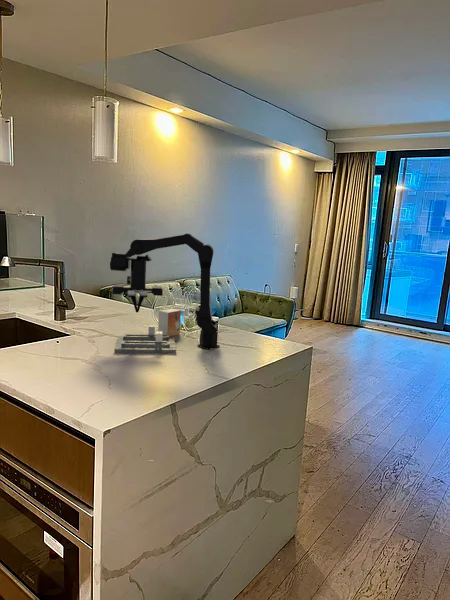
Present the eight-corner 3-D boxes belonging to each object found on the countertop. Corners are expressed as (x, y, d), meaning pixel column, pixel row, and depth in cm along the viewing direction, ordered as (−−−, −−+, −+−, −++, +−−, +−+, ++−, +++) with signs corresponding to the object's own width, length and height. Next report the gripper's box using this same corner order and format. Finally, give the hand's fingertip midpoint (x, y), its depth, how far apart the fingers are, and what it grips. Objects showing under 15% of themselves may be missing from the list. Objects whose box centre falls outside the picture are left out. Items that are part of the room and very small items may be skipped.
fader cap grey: (154, 337, 182) (154, 324, 181) (154, 339, 179) (154, 326, 178) (148, 337, 181) (148, 324, 181) (148, 339, 178) (148, 326, 177)
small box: (167, 337, 189) (167, 312, 187) (157, 334, 192) (158, 310, 190) (180, 334, 195) (181, 310, 193) (170, 331, 198) (171, 308, 196)
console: (173, 339, 186) (173, 333, 185) (175, 353, 167) (176, 346, 167) (118, 339, 182) (118, 332, 182) (114, 353, 164) (114, 346, 163)
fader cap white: (161, 344, 173) (162, 331, 172) (162, 346, 169) (162, 333, 168) (155, 344, 172) (155, 331, 171) (155, 346, 169) (155, 333, 168)
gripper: (162, 270, 183) (160, 308, 186) (114, 268, 180) (113, 307, 182) (163, 274, 172) (161, 314, 175) (112, 272, 169) (111, 313, 172)
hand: (137, 312), depth 176 cm, fingers closed
